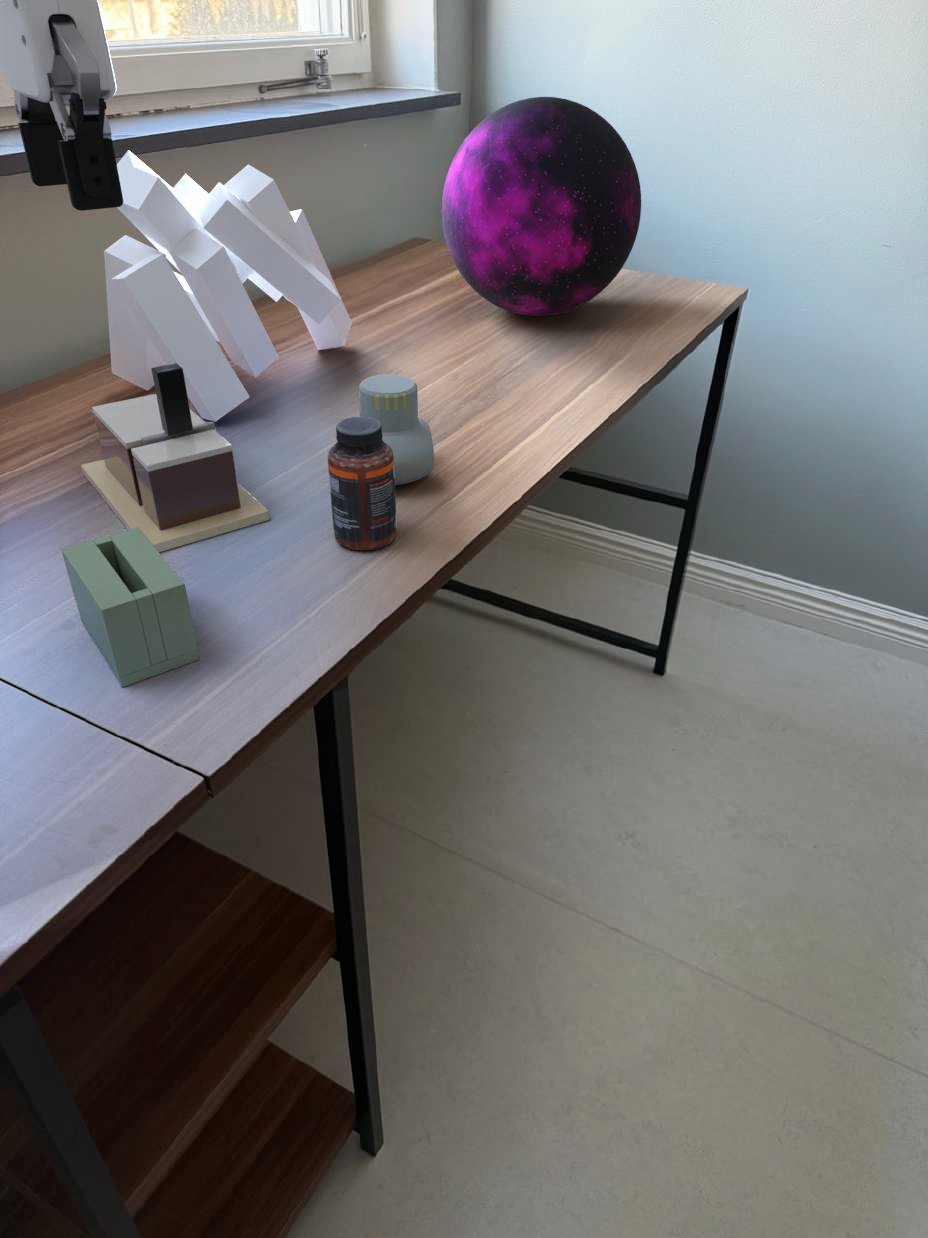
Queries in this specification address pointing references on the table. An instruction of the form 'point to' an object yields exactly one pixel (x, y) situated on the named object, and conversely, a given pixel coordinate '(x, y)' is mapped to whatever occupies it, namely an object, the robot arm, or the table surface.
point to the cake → (168, 477)
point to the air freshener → (399, 423)
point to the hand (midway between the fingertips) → (76, 195)
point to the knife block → (131, 605)
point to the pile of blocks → (210, 282)
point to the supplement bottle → (362, 485)
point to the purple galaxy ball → (541, 206)
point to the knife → (173, 405)
